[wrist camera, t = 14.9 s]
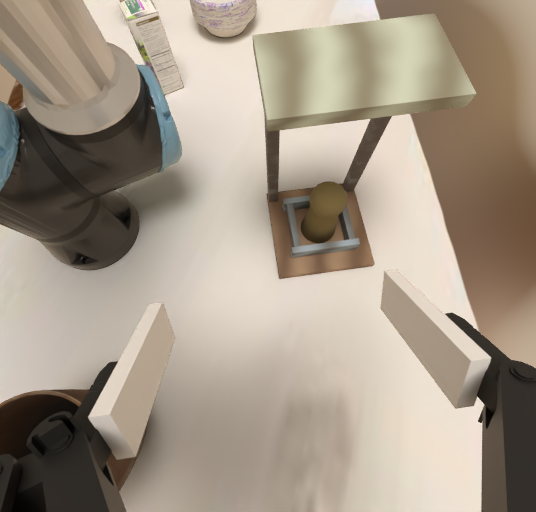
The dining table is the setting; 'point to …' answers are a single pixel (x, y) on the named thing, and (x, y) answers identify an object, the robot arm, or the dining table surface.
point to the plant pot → (38, 409)
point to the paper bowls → (224, 15)
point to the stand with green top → (347, 114)
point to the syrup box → (152, 42)
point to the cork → (323, 212)
